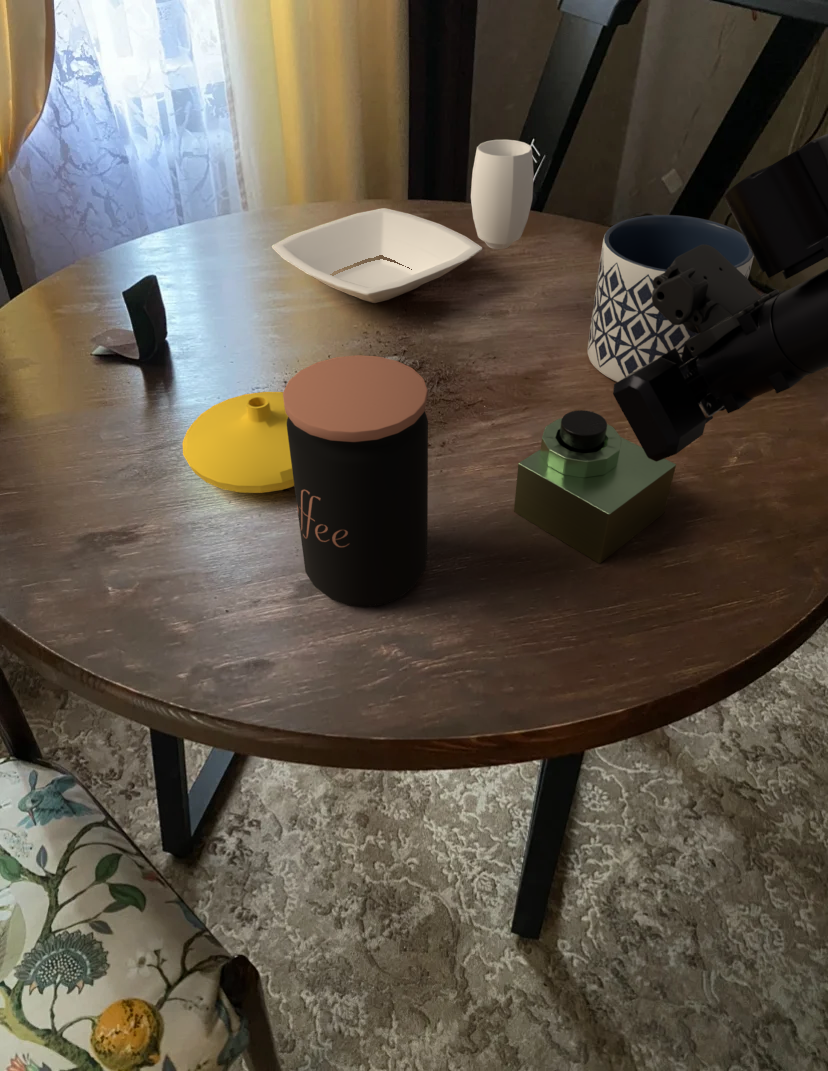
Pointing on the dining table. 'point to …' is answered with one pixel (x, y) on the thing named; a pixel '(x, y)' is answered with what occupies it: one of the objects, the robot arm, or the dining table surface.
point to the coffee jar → (360, 476)
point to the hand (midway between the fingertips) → (635, 409)
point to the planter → (647, 287)
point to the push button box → (592, 492)
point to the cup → (501, 191)
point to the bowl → (377, 253)
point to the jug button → (582, 431)
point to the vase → (242, 444)
